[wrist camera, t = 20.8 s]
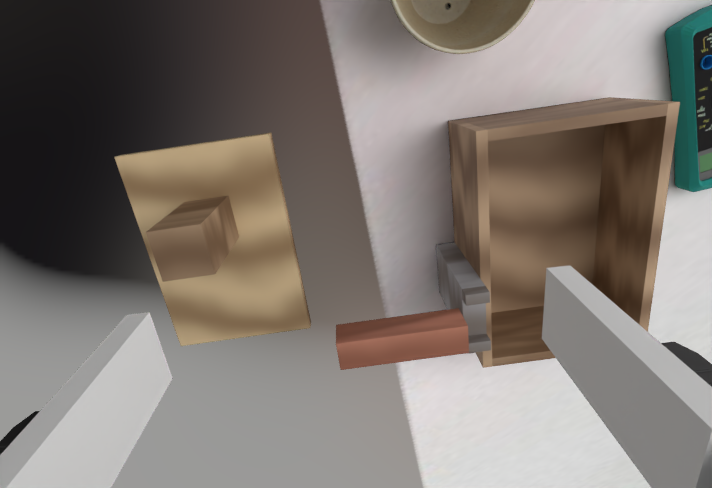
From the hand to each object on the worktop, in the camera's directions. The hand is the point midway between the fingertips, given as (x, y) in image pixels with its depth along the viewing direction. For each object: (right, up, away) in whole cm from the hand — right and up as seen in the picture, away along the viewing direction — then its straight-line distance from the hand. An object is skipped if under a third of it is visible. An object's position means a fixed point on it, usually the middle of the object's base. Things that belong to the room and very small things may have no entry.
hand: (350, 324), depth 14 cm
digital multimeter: (+31, +16, +23) cm, 42 cm away
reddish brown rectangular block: (+4, -4, +19) cm, 19 cm away
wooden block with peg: (-13, +3, +26) cm, 29 cm away
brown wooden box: (+16, +5, +26) cm, 31 cm away
